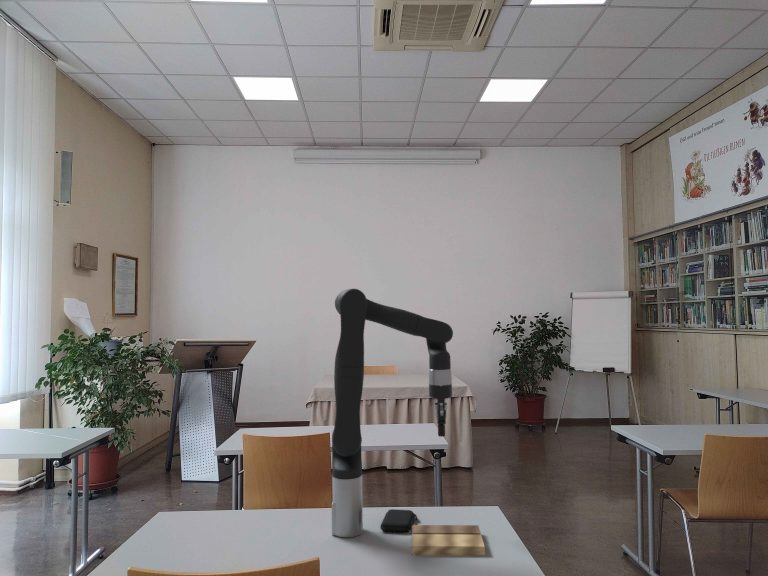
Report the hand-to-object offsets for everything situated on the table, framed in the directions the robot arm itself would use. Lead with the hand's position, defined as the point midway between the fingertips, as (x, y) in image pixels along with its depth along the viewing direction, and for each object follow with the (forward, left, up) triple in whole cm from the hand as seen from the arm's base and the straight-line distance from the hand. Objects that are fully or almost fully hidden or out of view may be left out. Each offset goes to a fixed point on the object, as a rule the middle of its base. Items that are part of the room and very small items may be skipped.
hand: (441, 435), depth 177 cm
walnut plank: (0, -14, -27) cm, 30 cm away
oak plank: (0, -22, -27) cm, 35 cm away
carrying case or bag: (-14, -4, -28) cm, 31 cm away
